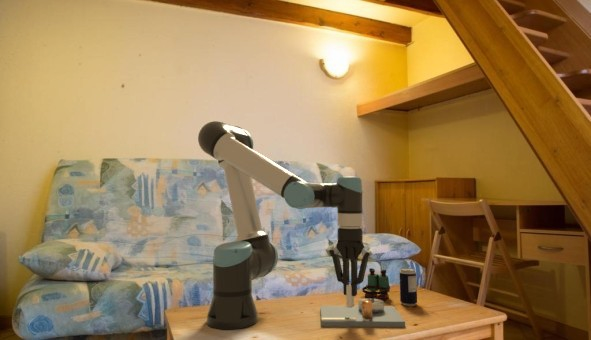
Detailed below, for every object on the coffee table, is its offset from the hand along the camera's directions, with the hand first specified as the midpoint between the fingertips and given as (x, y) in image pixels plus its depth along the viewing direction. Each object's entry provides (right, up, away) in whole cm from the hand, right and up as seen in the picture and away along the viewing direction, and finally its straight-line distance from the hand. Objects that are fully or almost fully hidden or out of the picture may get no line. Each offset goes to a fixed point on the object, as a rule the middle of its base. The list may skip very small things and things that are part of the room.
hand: (350, 306), depth 115 cm
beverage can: (+23, -6, +19) cm, 31 cm away
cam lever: (+6, -3, +3) cm, 8 cm away
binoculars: (+13, -7, +26) cm, 30 cm away
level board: (+4, -5, +4) cm, 7 cm away
